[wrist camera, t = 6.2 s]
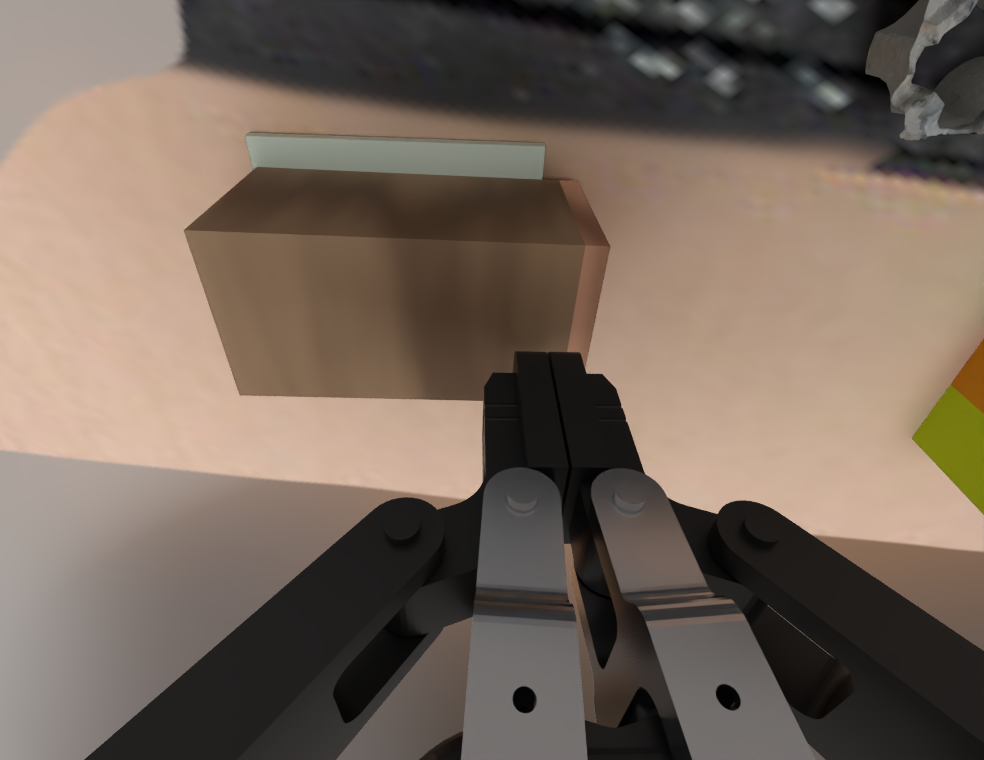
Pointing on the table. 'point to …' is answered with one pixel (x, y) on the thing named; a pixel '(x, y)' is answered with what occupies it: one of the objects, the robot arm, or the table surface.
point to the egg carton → (892, 57)
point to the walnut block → (395, 280)
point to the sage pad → (397, 155)
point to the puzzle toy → (959, 430)
